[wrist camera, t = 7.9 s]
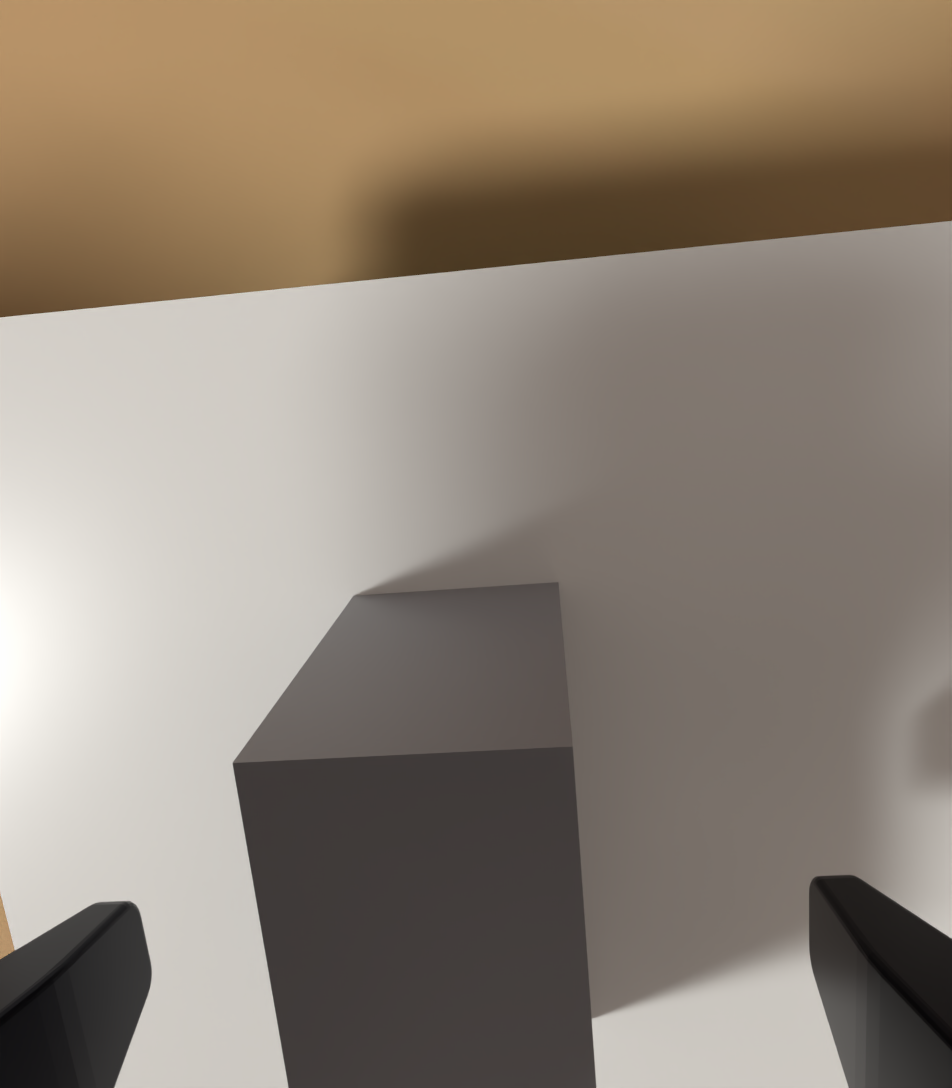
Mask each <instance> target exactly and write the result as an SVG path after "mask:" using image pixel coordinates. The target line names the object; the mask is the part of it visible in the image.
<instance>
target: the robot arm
mask: <svg viewBox="0 0 952 1088" xmlns="http://www.w3.org/2000/svg"><path fill="white" fill-rule="evenodd" d="M809 953H810V960H811V966H812V970H813V974H814V978H815V981H816V984H817V988H818V991H819V994H820V997H821V1000H822V1004H823V1007H824V1010H825V1013H826V1016H827V1020H828V1023H829V1026H830V1029H831V1032H832V1036H833V1039H834V1042H835V1045H836V1049H837V1052H838V1055H839V1058H840V1061H841V1065H842V1068H843V1071H844V1074H845V1077H846V1081H847V1084H848V1087H849V1088H952V938H950V937H949V936H947V935H946V934H944V933H942V932H941V931H939V930H938V929H936V928H935V927H933V926H932V925H930V924H929V923H927V922H926V921H924V920H923V919H921V918H920V917H918V916H917V915H915V914H914V913H912V912H911V911H909V910H907V909H906V908H904V907H903V906H901V905H900V904H898V903H897V902H895V901H894V900H892V899H891V898H889V897H888V896H886V895H885V894H883V893H882V892H880V891H879V890H877V889H876V888H874V887H872V886H871V885H869V884H868V883H866V882H865V881H863V880H862V879H860V878H858V877H856V876H854V875H829V876H816V877H814V878H813V879H812V881H811V883H810V887H809ZM151 979H152V967H151V961H150V956H149V951H148V946H147V942H146V937H145V932H144V928H143V923H142V918H141V914H140V911H139V909H138V907H137V905H136V904H134V903H133V902H131V901H109V902H97V903H94V904H92V905H90V906H88V907H87V908H85V909H83V910H82V911H80V912H78V913H77V914H75V915H73V916H72V917H70V918H68V919H67V920H65V921H63V922H62V923H60V924H58V925H57V926H55V927H53V928H52V929H50V930H48V931H47V932H45V933H43V934H42V935H40V936H38V937H37V938H35V939H33V940H32V941H30V942H28V943H27V944H25V945H23V946H22V947H20V948H18V949H17V950H15V951H13V952H12V953H10V954H8V955H7V956H5V957H3V958H2V959H0V1088H114V1087H115V1085H116V1082H117V1079H118V1076H119V1074H120V1071H121V1068H122V1065H123V1063H124V1060H125V1057H126V1054H127V1052H128V1049H129V1046H130V1043H131V1041H132V1038H133V1035H134V1032H135V1030H136V1027H137V1024H138V1021H139V1019H140V1016H141V1013H142V1010H143V1008H144V1005H145V1002H146V999H147V997H148V993H149V990H150V986H151Z"/></svg>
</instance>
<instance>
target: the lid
mask: <svg viewBox="0 0 952 1088" xmlns="http://www.w3.org/2000/svg"><path fill="white" fill-rule="evenodd" d="M829 875H854V876H856V877H858V878H860V879H862V880H863V881H865V882H866V883H868V884H869V885H871V886H872V887H874V888H876V889H877V890H879V891H880V892H882V893H883V894H885V895H886V896H888V897H889V898H891V899H892V900H894V901H895V902H897V903H898V904H900V905H901V906H903V907H904V908H906V909H907V910H909V911H911V912H912V913H914V914H915V915H917V916H918V917H920V918H921V919H923V920H924V921H926V922H927V923H929V924H930V925H932V926H933V927H935V928H936V929H938V930H939V931H941V932H942V933H944V934H946V935H947V936H949V937H950V938H952V221H946V222H937V223H927V224H917V225H907V226H897V227H887V228H877V229H867V230H858V231H848V232H838V233H828V234H818V235H808V236H798V237H789V238H779V239H769V240H759V241H749V242H739V243H729V244H720V245H710V246H700V247H690V248H680V249H670V250H660V251H651V252H641V253H631V254H621V255H611V256H601V257H591V258H582V259H572V260H562V261H552V262H542V263H532V264H522V265H512V266H503V267H493V268H483V269H473V270H463V271H453V272H443V273H434V274H424V275H414V276H404V277H394V278H384V279H374V280H365V281H355V282H345V283H335V284H325V285H315V286H305V287H296V288H286V289H276V290H266V291H256V292H246V293H236V294H226V295H217V296H207V297H197V298H187V299H177V300H167V301H157V302H148V303H138V304H128V305H118V306H108V307H98V308H88V309H79V310H69V311H59V312H49V313H39V314H29V315H19V316H10V317H0V893H1V897H2V901H3V905H4V909H5V913H6V917H7V921H8V925H9V929H10V933H11V937H12V941H13V944H14V948H15V950H17V949H18V948H20V947H22V946H23V945H25V944H27V943H28V942H30V941H32V940H33V939H35V938H37V937H38V936H40V935H42V934H43V933H45V932H47V931H48V930H50V929H52V928H53V927H55V926H57V925H58V924H60V923H62V922H63V921H65V920H67V919H68V918H70V917H72V916H73V915H75V914H77V913H78V912H80V911H82V910H83V909H85V908H87V907H88V906H90V905H92V904H94V903H97V902H109V901H131V902H133V903H134V904H136V905H137V907H138V909H139V911H140V914H141V918H142V923H143V928H144V932H145V937H146V942H147V946H148V951H149V956H150V961H151V967H152V979H151V986H150V990H149V993H148V997H147V999H146V1002H145V1005H144V1008H143V1010H142V1013H141V1016H140V1019H139V1021H138V1024H137V1027H136V1030H135V1032H134V1035H133V1038H132V1041H131V1043H130V1046H129V1049H128V1052H127V1054H126V1057H125V1060H124V1063H123V1065H122V1068H121V1071H120V1074H119V1076H118V1079H117V1082H116V1085H115V1087H114V1088H849V1087H848V1084H847V1081H846V1077H845V1074H844V1071H843V1068H842V1065H841V1061H840V1058H839V1055H838V1052H837V1049H836V1045H835V1042H834V1039H833V1036H832V1032H831V1029H830V1026H829V1023H828V1020H827V1016H826V1013H825V1010H824V1007H823V1004H822V1000H821V997H820V994H819V991H818V988H817V984H816V981H815V978H814V974H813V970H812V966H811V960H810V953H809V887H810V883H811V881H812V879H813V878H814V877H816V876H829Z"/></svg>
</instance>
